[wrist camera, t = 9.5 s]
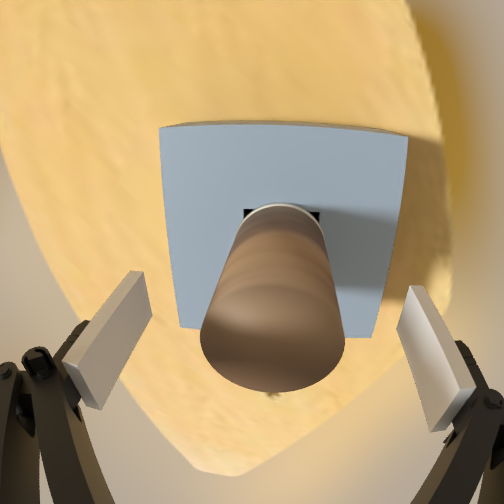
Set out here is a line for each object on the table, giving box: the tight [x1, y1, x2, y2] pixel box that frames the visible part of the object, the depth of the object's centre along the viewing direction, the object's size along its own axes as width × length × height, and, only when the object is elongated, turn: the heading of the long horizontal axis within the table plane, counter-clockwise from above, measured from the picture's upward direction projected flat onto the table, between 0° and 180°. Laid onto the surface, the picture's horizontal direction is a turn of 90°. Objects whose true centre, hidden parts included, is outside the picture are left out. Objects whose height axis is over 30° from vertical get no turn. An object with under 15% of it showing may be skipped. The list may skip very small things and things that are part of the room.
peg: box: [200, 202, 345, 393], centre depth 19 cm, size 6×6×15 cm
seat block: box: [159, 121, 408, 338], centre depth 24 cm, size 16×16×6 cm
